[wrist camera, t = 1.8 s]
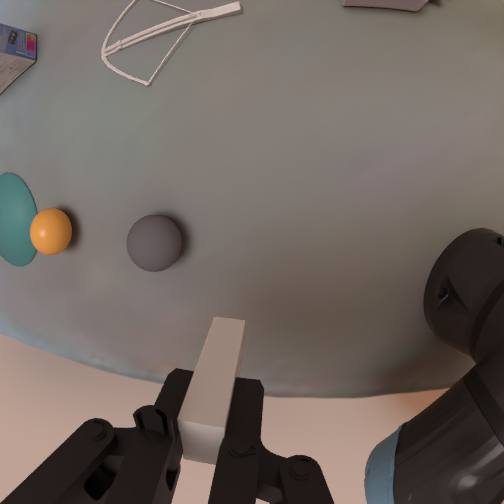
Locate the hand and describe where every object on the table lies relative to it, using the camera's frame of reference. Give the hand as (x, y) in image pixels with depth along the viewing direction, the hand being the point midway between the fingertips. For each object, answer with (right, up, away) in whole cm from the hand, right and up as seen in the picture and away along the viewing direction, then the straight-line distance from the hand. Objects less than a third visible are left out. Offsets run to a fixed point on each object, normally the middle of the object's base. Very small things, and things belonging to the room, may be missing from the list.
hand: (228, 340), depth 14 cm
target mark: (-34, +9, +17) cm, 39 cm away
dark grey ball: (-8, +5, +13) cm, 16 cm away
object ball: (-22, +7, +14) cm, 27 cm away
